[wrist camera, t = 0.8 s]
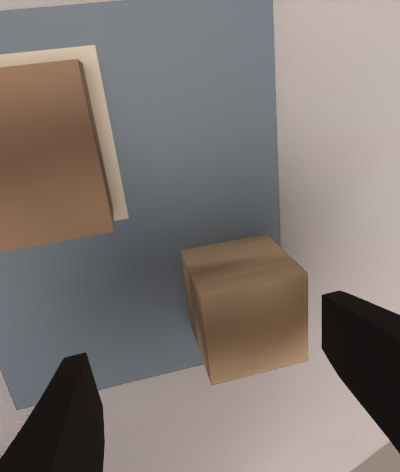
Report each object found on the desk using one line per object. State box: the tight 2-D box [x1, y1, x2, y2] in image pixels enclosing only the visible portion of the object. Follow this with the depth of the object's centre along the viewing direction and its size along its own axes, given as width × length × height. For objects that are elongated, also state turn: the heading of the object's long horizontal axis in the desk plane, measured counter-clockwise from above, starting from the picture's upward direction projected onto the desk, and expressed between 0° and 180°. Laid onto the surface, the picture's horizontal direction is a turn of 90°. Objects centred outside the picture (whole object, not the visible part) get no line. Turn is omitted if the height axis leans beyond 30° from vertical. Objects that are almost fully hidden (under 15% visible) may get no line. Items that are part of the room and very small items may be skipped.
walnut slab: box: [0, 59, 114, 252], centre depth 14 cm, size 6×6×3 cm
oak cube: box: [180, 234, 308, 385], centre depth 18 cm, size 4×4×4 cm
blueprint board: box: [0, 0, 280, 410], centre depth 18 cm, size 18×15×1 cm
